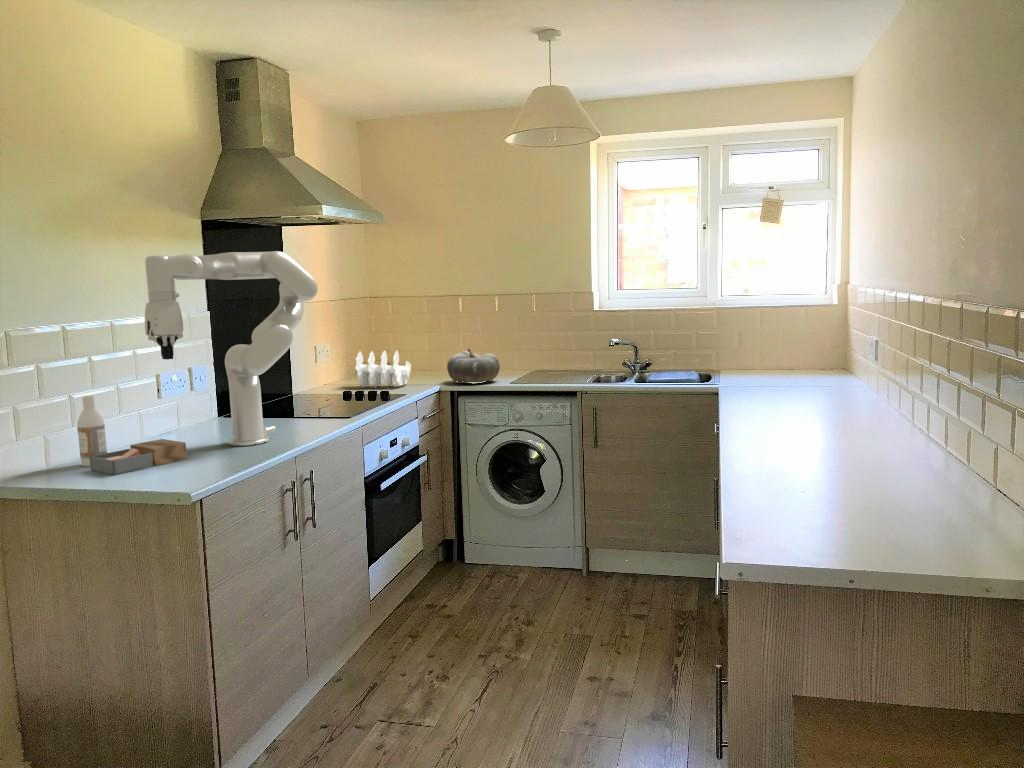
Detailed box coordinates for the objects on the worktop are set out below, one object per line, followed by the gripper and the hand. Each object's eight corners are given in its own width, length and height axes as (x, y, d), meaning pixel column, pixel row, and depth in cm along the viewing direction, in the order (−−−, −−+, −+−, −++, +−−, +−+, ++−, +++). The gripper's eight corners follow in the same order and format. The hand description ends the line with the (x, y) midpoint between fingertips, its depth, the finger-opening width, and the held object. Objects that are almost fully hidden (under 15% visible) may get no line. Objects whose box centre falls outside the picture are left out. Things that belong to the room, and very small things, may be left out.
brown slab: (163, 455, 243) (161, 438, 242) (186, 459, 236) (185, 442, 235) (131, 461, 235) (130, 445, 234) (155, 466, 228) (153, 448, 227)
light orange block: (104, 458, 224) (105, 468, 225) (111, 460, 222) (112, 470, 222) (119, 455, 227) (120, 466, 228) (125, 457, 225) (126, 467, 225)
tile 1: (138, 456, 231) (133, 448, 230) (144, 458, 228) (138, 450, 227) (126, 464, 229) (120, 456, 228) (131, 466, 226) (125, 458, 225)
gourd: (454, 374, 406) (458, 340, 402) (502, 382, 402) (506, 348, 397) (440, 385, 383) (443, 350, 378) (490, 394, 378) (494, 359, 374)
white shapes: (405, 396, 379) (354, 394, 383) (414, 376, 394) (365, 374, 397) (401, 363, 369) (348, 361, 373) (410, 344, 384) (359, 342, 387)
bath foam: (76, 465, 231) (68, 397, 229) (98, 460, 238) (91, 394, 235) (91, 468, 228) (84, 398, 226) (113, 462, 234) (106, 395, 232)
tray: (130, 462, 234) (128, 448, 234) (153, 466, 227) (152, 452, 227) (91, 470, 225) (89, 456, 224) (114, 475, 218) (112, 461, 217)
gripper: (177, 296, 246) (182, 356, 248) (131, 298, 234) (137, 361, 236) (192, 296, 242) (197, 357, 244) (145, 298, 230) (151, 362, 232)
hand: (167, 358), depth 240 cm, fingers closed
